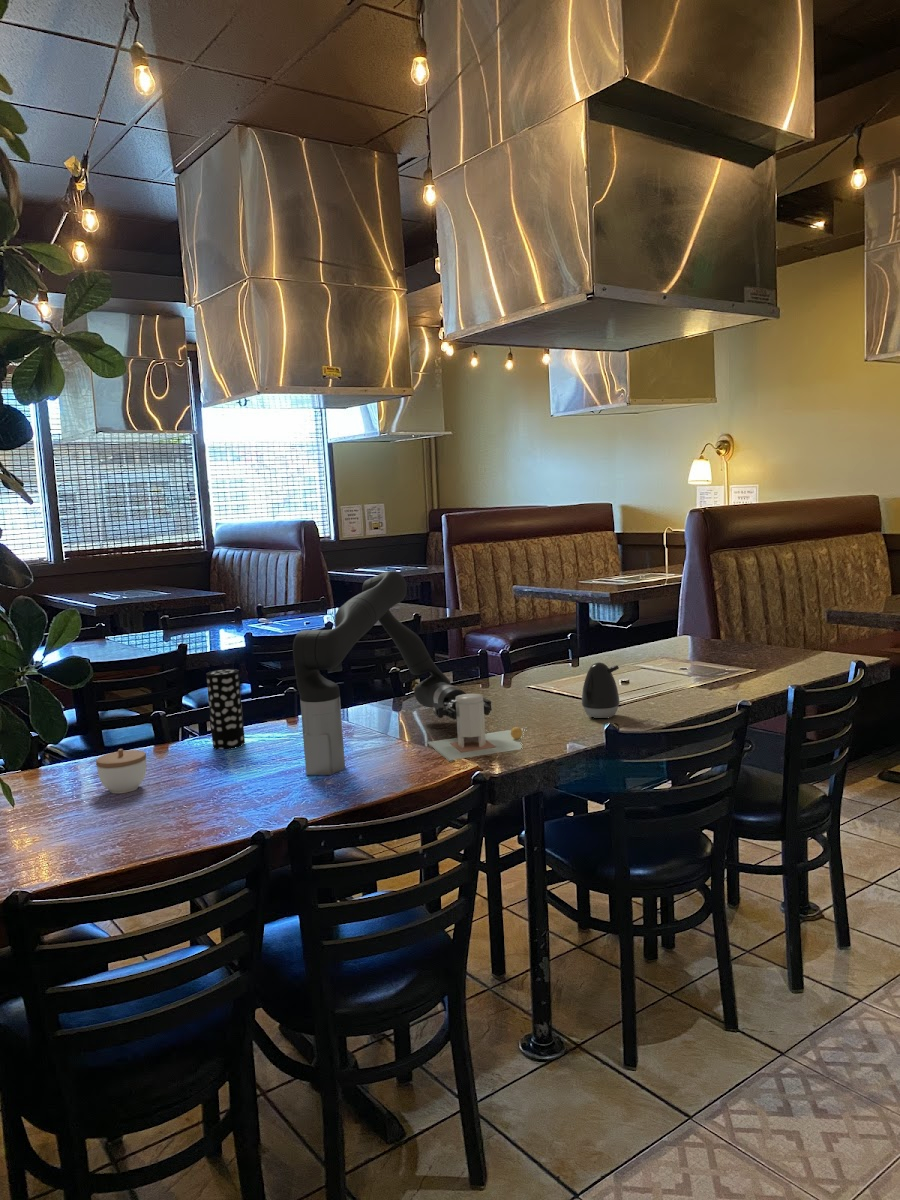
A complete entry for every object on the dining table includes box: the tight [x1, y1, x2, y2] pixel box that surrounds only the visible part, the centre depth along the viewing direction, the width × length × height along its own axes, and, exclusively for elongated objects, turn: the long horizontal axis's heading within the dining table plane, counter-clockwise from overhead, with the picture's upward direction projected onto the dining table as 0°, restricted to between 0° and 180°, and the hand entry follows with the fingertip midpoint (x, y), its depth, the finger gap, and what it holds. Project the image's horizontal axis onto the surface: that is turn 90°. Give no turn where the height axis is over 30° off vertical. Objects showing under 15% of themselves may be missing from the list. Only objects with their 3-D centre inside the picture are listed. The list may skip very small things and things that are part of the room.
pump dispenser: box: [581, 662, 620, 719], centre depth 238 cm, size 10×10×15 cm
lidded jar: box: [95, 748, 147, 795], centre depth 199 cm, size 11×11×9 cm
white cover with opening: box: [456, 693, 486, 748], centre depth 216 cm, size 7×7×12 cm
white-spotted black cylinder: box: [206, 668, 246, 750], centre depth 232 cm, size 8×8×20 cm
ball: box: [510, 726, 523, 739], centre depth 220 cm, size 3×3×3 cm
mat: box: [427, 727, 527, 763], centre depth 219 cm, size 30×18×1 cm, turn 108°
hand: (471, 713), depth 215 cm, fingers open, 8 cm apart
